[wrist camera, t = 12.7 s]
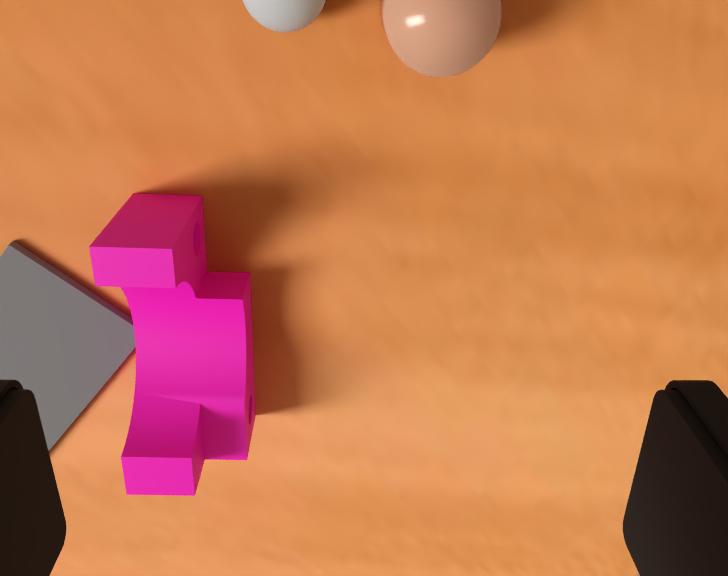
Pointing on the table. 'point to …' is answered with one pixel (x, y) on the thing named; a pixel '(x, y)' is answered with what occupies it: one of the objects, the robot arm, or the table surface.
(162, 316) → the toy block
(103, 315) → the felt pad
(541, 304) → the table surface
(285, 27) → the grey ball
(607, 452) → the table surface
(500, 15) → the beige glossy rounded block
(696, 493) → the robot arm
